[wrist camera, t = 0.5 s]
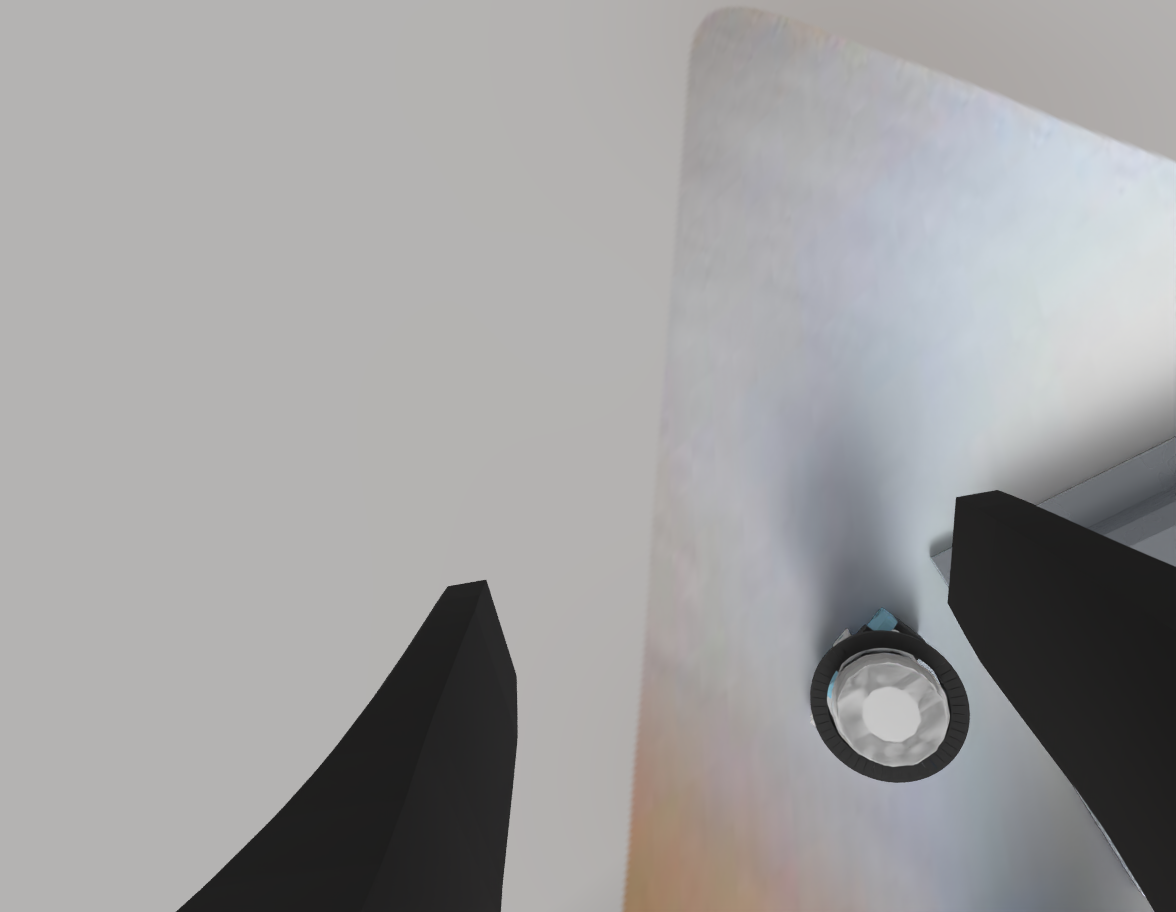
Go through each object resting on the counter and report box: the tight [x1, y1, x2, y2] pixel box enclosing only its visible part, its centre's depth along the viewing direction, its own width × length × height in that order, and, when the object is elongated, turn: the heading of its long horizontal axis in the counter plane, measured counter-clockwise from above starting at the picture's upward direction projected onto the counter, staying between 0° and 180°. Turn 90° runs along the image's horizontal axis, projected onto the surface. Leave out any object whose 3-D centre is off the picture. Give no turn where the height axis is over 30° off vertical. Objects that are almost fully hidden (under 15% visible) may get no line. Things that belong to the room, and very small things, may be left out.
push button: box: [810, 608, 970, 783], centre depth 29 cm, size 7×5×10 cm
